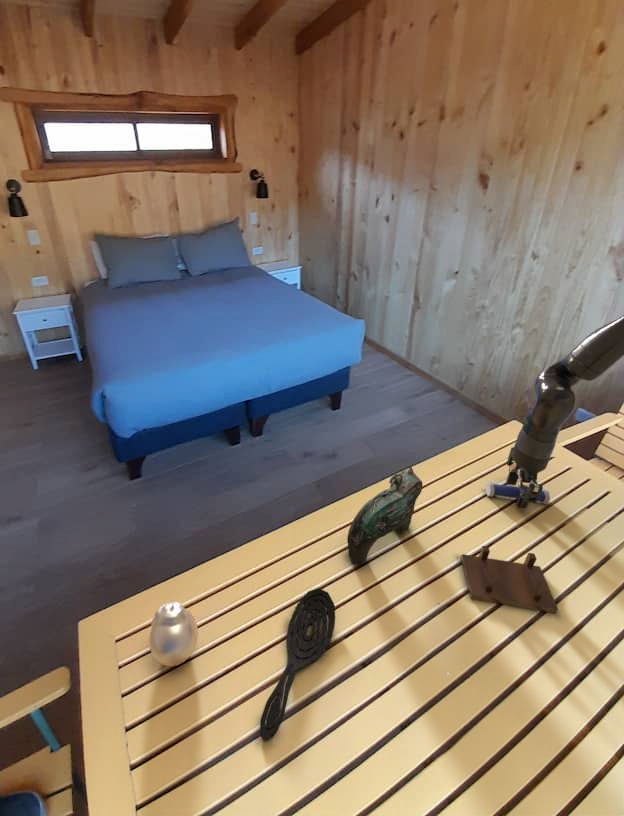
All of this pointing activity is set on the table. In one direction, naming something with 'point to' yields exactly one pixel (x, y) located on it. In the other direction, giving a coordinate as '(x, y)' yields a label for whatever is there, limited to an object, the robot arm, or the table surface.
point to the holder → (507, 582)
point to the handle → (512, 492)
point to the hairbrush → (300, 651)
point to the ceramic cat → (384, 514)
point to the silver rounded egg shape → (173, 634)
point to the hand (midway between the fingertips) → (515, 494)
